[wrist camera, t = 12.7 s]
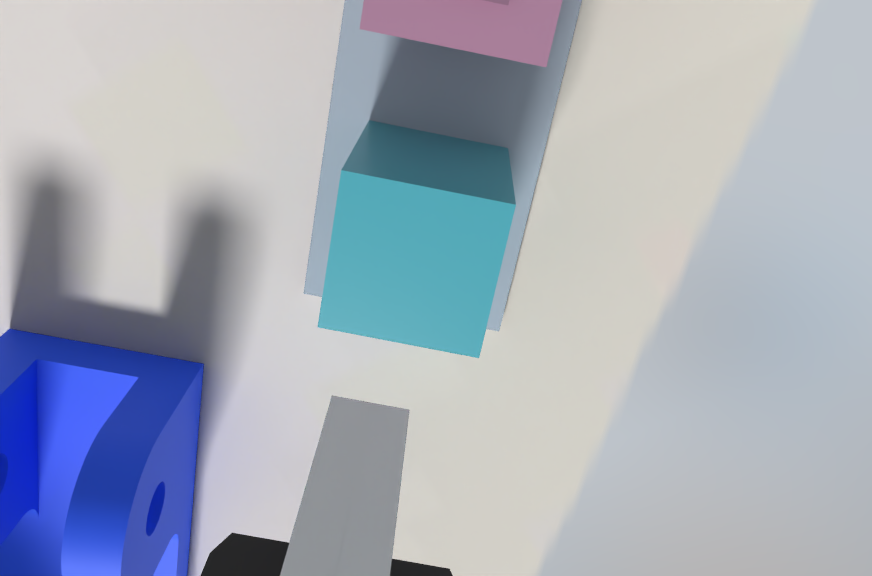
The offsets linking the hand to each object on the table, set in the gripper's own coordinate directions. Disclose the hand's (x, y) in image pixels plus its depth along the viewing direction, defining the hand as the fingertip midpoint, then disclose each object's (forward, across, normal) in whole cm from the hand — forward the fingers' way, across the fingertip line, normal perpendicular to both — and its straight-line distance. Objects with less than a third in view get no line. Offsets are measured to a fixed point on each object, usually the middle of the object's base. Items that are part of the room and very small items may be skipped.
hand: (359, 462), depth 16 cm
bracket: (+18, -12, -18) cm, 28 cm away
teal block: (+17, 0, 0) cm, 17 cm away
